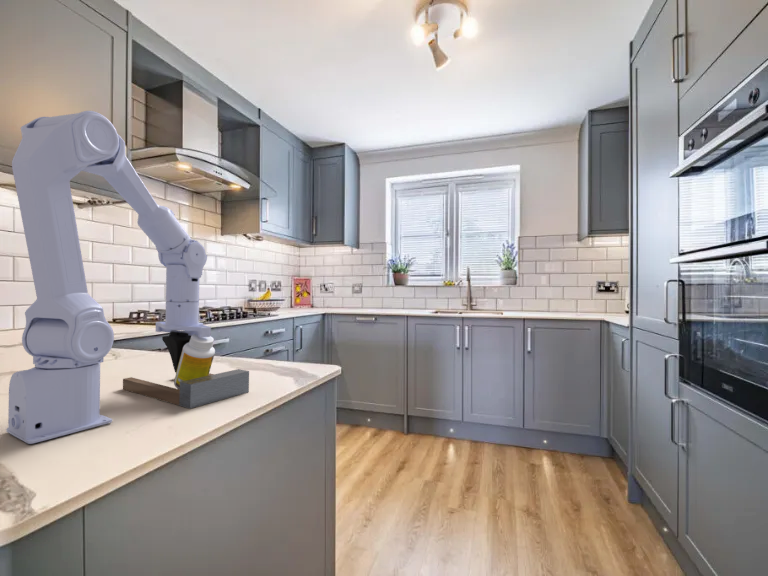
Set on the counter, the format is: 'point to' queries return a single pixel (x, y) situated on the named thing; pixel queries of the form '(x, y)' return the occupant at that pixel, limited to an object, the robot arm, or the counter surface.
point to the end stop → (213, 388)
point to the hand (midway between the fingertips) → (181, 371)
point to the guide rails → (152, 390)
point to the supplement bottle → (195, 359)
